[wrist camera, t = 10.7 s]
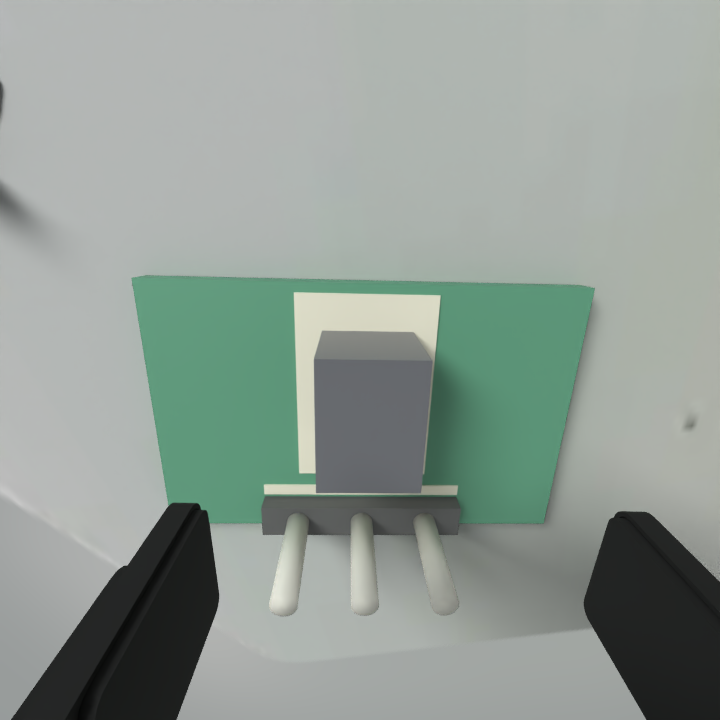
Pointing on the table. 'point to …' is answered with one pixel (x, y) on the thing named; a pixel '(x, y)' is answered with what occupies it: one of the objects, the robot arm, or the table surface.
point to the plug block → (370, 411)
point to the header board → (297, 413)
